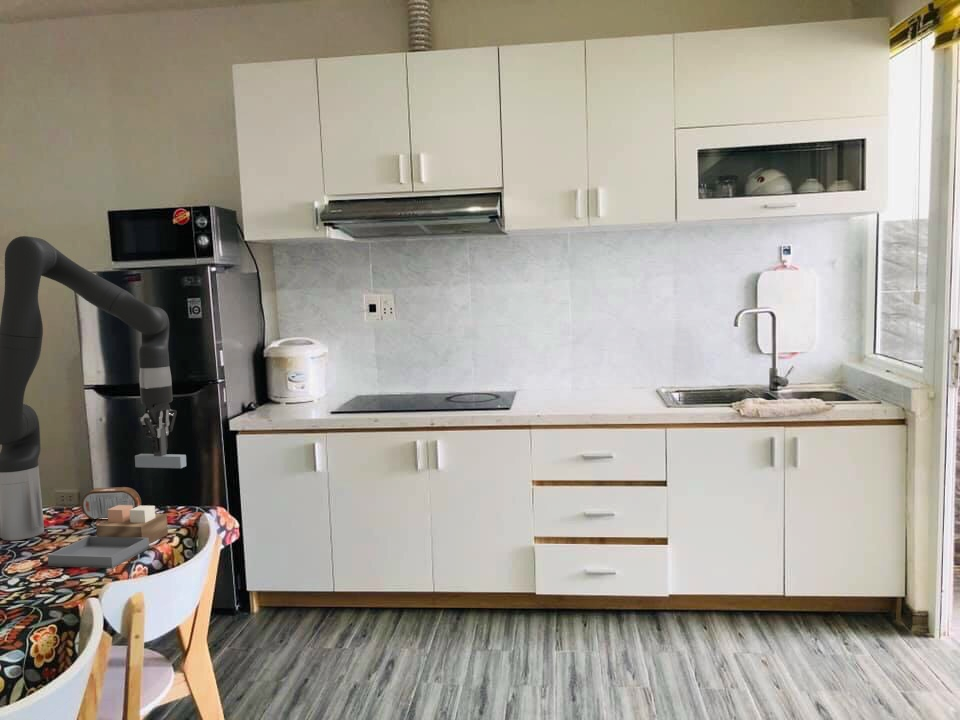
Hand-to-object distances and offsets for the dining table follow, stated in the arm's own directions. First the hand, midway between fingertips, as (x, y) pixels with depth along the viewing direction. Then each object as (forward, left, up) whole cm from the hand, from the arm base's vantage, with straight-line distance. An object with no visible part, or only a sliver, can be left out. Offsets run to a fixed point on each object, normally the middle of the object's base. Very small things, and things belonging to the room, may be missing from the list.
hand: (160, 450), depth 193 cm
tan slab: (0, -13, -19) cm, 23 cm away
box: (0, -25, -19) cm, 31 cm away
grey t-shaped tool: (0, 0, -4) cm, 4 cm away
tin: (-18, +3, -20) cm, 27 cm away
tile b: (+3, -13, -14) cm, 20 cm away
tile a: (-3, -13, -14) cm, 19 cm away
